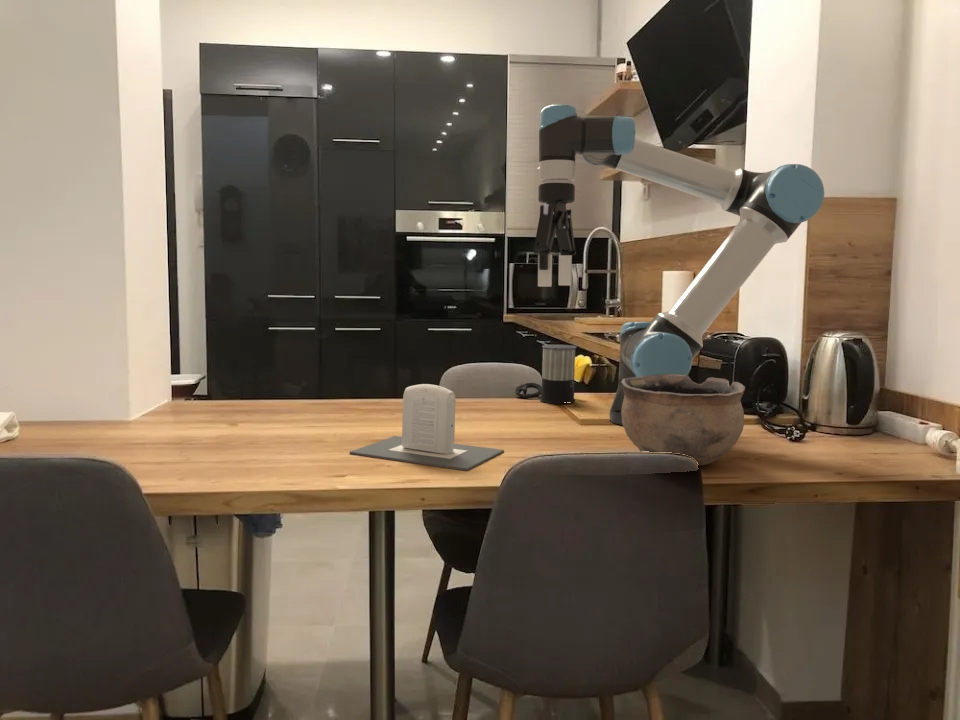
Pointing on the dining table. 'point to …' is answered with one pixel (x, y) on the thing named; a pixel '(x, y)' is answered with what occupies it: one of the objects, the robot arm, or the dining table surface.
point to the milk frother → (554, 376)
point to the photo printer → (428, 418)
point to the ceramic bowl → (683, 415)
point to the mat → (429, 454)
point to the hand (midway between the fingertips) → (555, 286)
